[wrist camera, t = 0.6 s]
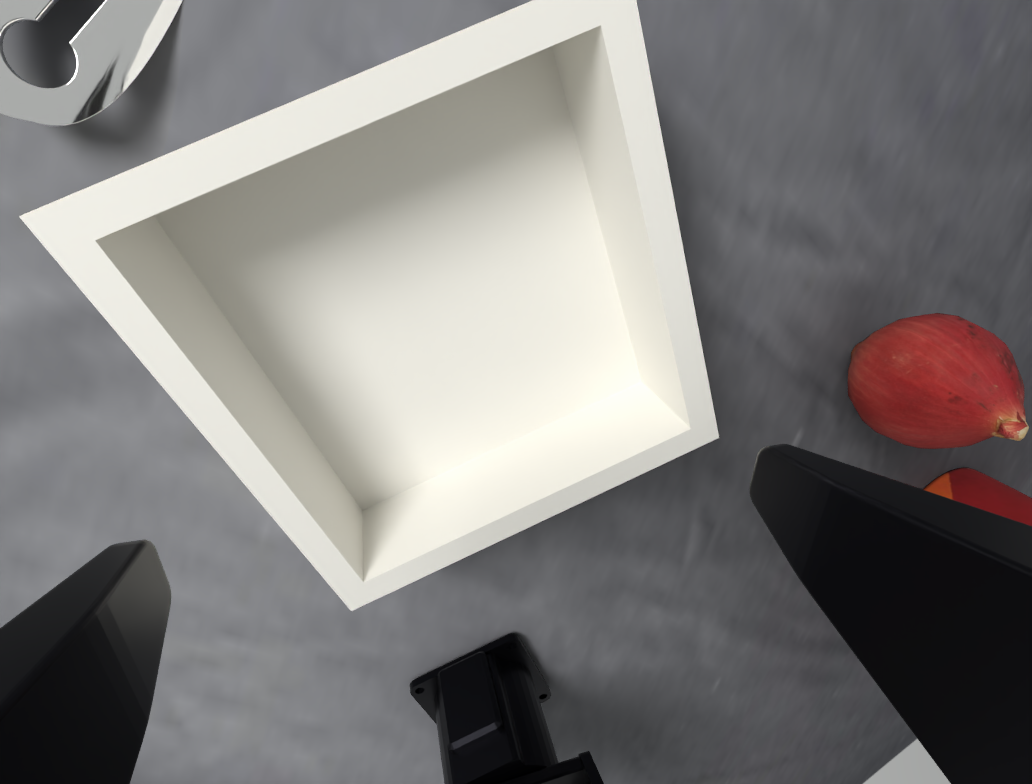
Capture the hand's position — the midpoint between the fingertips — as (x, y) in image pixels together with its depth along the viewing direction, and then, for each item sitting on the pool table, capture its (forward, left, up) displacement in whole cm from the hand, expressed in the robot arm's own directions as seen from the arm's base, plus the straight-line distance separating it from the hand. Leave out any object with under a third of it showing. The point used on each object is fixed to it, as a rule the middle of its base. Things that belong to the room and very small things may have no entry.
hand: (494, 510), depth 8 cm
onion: (-12, -18, -14) cm, 26 cm away
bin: (-1, 0, -14) cm, 14 cm away
